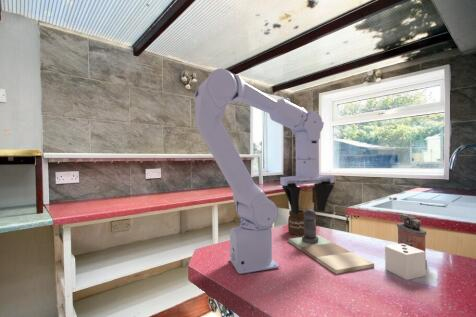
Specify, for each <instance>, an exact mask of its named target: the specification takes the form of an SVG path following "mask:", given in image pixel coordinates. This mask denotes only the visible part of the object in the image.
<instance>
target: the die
mask: <svg viewBox="0 0 476 317" xmlns="http://www.w3.org/2000/svg"><path fill="white" fill-rule="evenodd" d="M425 252H426V250H425V251H423V250H420V249H417V248H414V247H411V246H409V245H406V244H403V243H402V244H398V243H397V244H390V245H385V246H384V257H385V258H384V260H385V263H384V264H385V267H384V268H385V269H384V270H386V271H389V272H390V273H392V274H394V275H397V276H399V277H400V278H402V279H404V280H407V281H408V280H413V279H418V278H421V277H422V278H423V277H426V276H427V275H426V272H427V270H426V269H427V268H426V266H427V265H426V262H425Z"/></svg>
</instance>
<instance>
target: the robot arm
mask: <svg viewBox="0 0 476 317" xmlns="http://www.w3.org/2000/svg"><path fill="white" fill-rule="evenodd" d="M193 101H194V124H195V127H196V129H197V130H198V132H199V134H200V136H201V138H202V140H203V142H204V143H205V145H206V146H207V148H208V150H209V152H210V154H211V155H212V157H213V159H214V161H215V162H216V164H217V166H218V167H219V169H220V171H221V173H222V175H223V177H224V178H225V180H226V182H227V184H228V186H229V187H230V189H231V191H232V192H233V194H232V199H233V201H234V205H235V212H236V214H237V215H238V217H239V218H240V224H239V226H235V227H232V228H231V229H230V232H229V247H230V248H229V251H230V253H229V254H230V257H229V261H230V262H231V264H232V266H233V267H234V269H235V270H236V273H237V274H240V275H241V274H247V273H254V272H261V271H266V270H267V271H268V270H273V269H278V268H279V267H280V265H279V264H278V263H277V262H276V261H275V260H274V259H273V242H272V240H273V238H272V236H273V235H272V233H273V232H272V229H273V225H274V223H275V222H276V220H277V218H278V208H277V205H276V204H275V202H273V201H272V200H271V199H269V198H268V196H267V195H266V193H265V192H264V191H263V189H262V188H260V187H259V186H258V185H257V184H256V183H255V181H254V179H253V177H252V176H251V174H250V172H249V171H248V168H247V166H246V165H245V163H244V161H243V159H242V157H241V156H240V154H239V152H238V150H237V148H236V147H235V145H234V142H233V140H232V139H231V136H230V135H229V133H228V132H227V129H226V128H225V126H224V123H223V122H222V120H223V116H224V113H225V111H226V108H227V106H228V105H229V104H234V103H239V102H240V103H244V104H246V105H248V106H250V107H253V108H255V109H258V110H260V111H263V112H266V113H267V114H269V118H270V120H271V121H273V122H275V123H277V124H280V125H282V126H284V127H285V128H288V129H290V131H291V132H292V134H293V135H294V136H295V137H294V138H295V143H294V144H295V175H292V176H283V177H280V179H279V183H280V186H282V190H283V191H284V193H285V195H286V197H287V199H288V200H287V201H288V204H289V205H290V208H291V209H290V210H292V213H294V214H298V212H299V210H300V209H299V204H300V203H299V200H300V199H299V198H300V193H301V187H298V185H309V184H313V185H314V189H315V193H316V194H315V195H316V208H317V211H318V212H319V211H320V212H325V210H326V207H327V202H328V200H329V198H330V195H331V192H332V191H333V189H334V186H335V185H334V183H335V175H333V174H320V150H319V148H320V146H319V141H320V139H321V132H322V130H323V128H324V125H325V124H324V121H323V120H322V117H321V115H320V114H319V113H318V112H316V111H314V110H310V111H308V110H307V109H305V107H303V106H298V105H297V104H294V103H292V102H291V99H290V98H287V97H285V98H283V97H282V98H278V99H274V98H273V97H271V96H269V95H267V94H266V93H265V92H262V91H261V90H259V89H257V88H255V87H254V86H252V85H251V84H249V83H247V82H245V80H244V79H242V77H241V76H240V75H239V74H235V73H233V72H231V71H229V70H228V69H226V68H216V69H214V70H213V71H212V72H211V73H210V74H209V75H208V77H206V78H205V79H204V80H203V81H202V82H201V83H199V85H198V87H197V88H196V91H195V93H194V95H193Z"/></svg>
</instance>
